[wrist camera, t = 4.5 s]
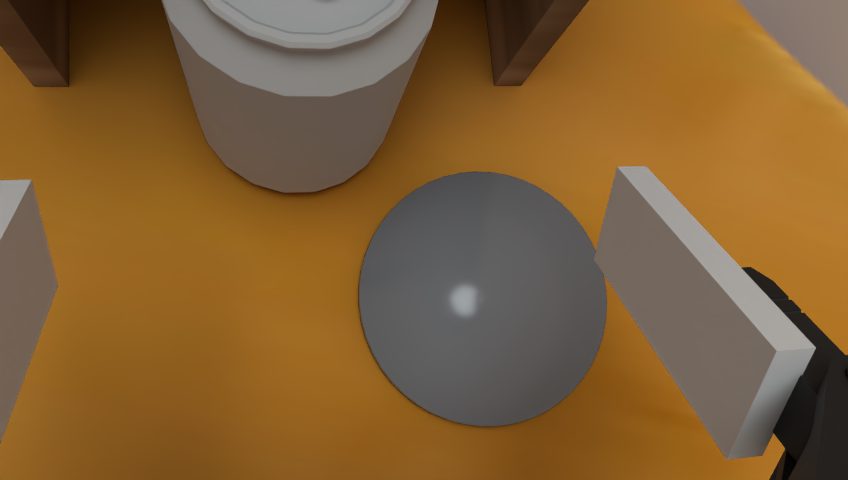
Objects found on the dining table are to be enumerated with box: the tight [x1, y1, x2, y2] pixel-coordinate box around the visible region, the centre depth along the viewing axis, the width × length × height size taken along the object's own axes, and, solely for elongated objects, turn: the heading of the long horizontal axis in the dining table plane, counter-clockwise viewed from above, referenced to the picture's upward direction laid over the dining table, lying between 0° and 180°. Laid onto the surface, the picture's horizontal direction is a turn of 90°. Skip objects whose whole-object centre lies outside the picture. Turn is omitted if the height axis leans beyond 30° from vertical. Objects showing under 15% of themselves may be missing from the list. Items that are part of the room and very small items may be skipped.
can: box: [161, 0, 438, 193], centre depth 23 cm, size 8×8×12 cm
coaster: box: [358, 172, 607, 426], centre depth 29 cm, size 10×10×1 cm
